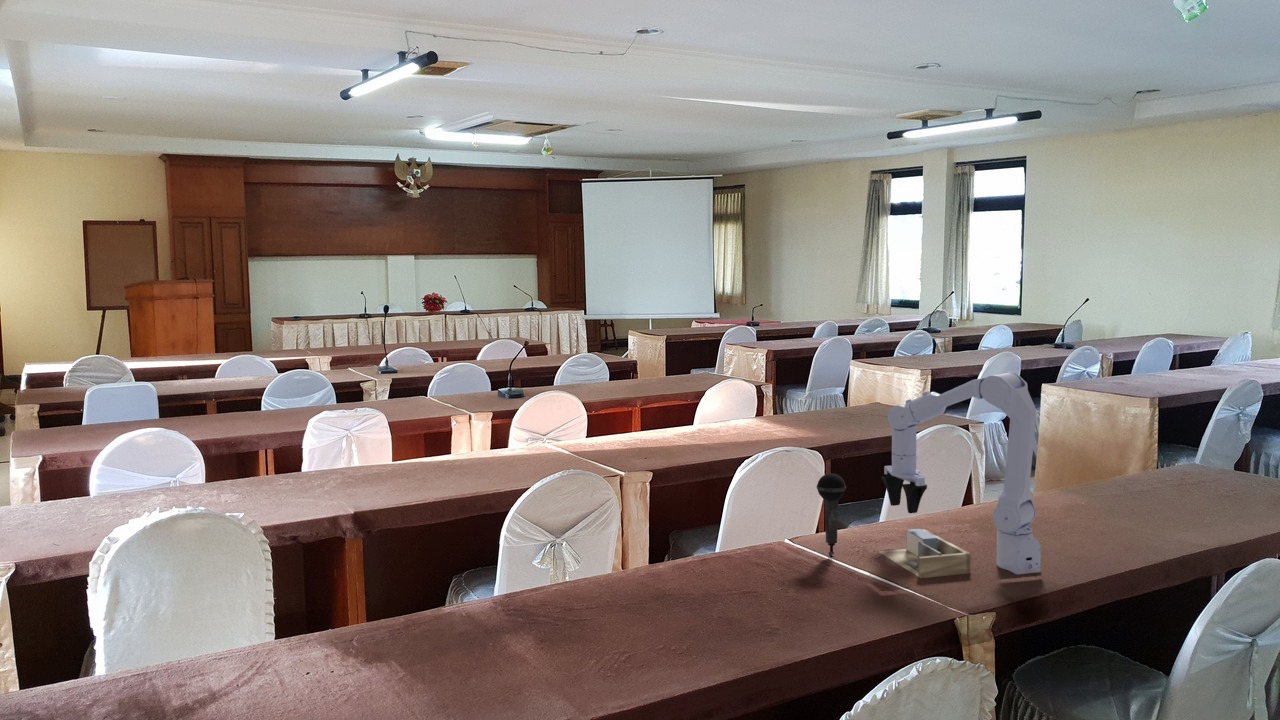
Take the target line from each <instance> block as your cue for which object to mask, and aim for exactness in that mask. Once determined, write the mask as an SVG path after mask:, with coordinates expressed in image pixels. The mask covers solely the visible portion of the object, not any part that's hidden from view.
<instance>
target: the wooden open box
mask: <svg viewBox="0 0 1280 720" xmlns="http://www.w3.org/2000/svg"><path fill="white" fill-rule="evenodd" d="M922 530H923V531H925V532H927V533H929V534H931V535H933V536H935V537H937V550H935V549H933V548H931V547H930V546H928V545H926V544H924V543H922V542H918V557H917V556H915V555H913V554H912V553H910V552H908V551H907V550H906V548H904V549H903V548H902V549H892V550H891V549H890V550H881V551H878V553H879V554H881V555H883V556H885V557H886V558H887V559H889V560H890V561H892V562H893V563H895V564H897V565H898V566H900V567H901V568H903V569H905V570H907V571H908V572H909V573H911V574H913V575H914V576H916V577H918V578H920V579H926V578H935V577H937V578H938V577H946V576H957V575H966V574H971V568H972V566H971V558H972V556H971V555H972V554H971V552H969V551H967V550H965V549H962V547H959V546H958V545H955V544H953V543H951V542H949V541H948V540H945V539H943V538H942V537H941V536H938V535H936V534H934V533H932V532H930V531H929V530H927V529H922Z"/></svg>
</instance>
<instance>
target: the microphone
mask: <svg viewBox="0 0 1280 720" xmlns="http://www.w3.org/2000/svg"><path fill="white" fill-rule="evenodd" d="M816 489H817V491H818V494H819V496H820V497H821V498H822V499H824V525H825V542H826V544H827V545H828V546H829V551H828V556H829V557H831V556H832V557H833V555H834V554H835V552H834V546H835V545H836V544H837V543H838V524H839V522H838V521H839V500H840V499H841V498H843V496H845V495H844V494H845V492H846V489H847V486H846V483H845V481H844V478H842V476H840V475H839V474H837V473H833V472H832V473H831V472H830V473H829V472H828V473H826V474H824V475H822V476H821V477H820V478H819V480H818V481H817V484H816Z"/></svg>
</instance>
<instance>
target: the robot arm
mask: <svg viewBox="0 0 1280 720" xmlns="http://www.w3.org/2000/svg"><path fill="white" fill-rule="evenodd" d="M1028 386H1029V385H1028V383H1027V381H1026V380H1024V379H1023V378H1022V376H1020V375H1019V374H1017V373H1016V372H1014V371H1005V372H1002V373H999V374H993V375H992V374H991V375H989V376H986V377H981V378H977V379H971V380H970V381H967V382H966V383H963V384H961V385H958V386H956V387H954V388H952V389H950V390H947V391H945V392H943V393H938V392H936V391H931V392H930V391H929V390H928V391H924V392H922V393H921V394H922V395H921V396H919V397H917V398H915V399H912V398H911V399H907V400H905V403H904V404H900V405H899V404H896V405H894V406H893V407H892V408H891V409H889V411H888V414H887V421H888V424H889V426H891V465H885V466H884V467H883V469H884V471H883V472H884V473H883V474H884V476H882V477H881V480H882V482H883V484H884V486H885V489H886V491H887V495H888V499H889V504H890V506H891V507H893V506H901V505H900V504H901V501H902V500H901V499H902V490H903V491H904V494H905V499H906V508H907V513H908V514H916V513H918V511H919V507H920V503H921V501H922V498H923V495H924V493H925V492H926V490H927V489H928V485H927V484H926V483H925V482H926V479H925V478H926V477H924V476H922V475H921V470H919V469H917V432H918V431H917V429H918V428H917V427H918V426H919V424H922V423H924V422H926V421H929V420H932V419H934V418H936V417H939V416H942V415H943V414H944V413H945V411H946V408H947V407H950V406H952V405H954V404H957V403H961V402H963V401H966V400H969V399H971V398H976V399H978V400H984V401H986V402H987V403H988V404H991V405H992V406H993V407H996V408H997V409H1000V410H1001V411H1002V412H1003V413H1004V414H1005V415H1006V416H1007V417H1008V418H1009V428H1008V429H1009V430H1008V438H1007V439H1008V440H1007V447H1006V448H1007V451H1006V460H1005V472H1004V482H1003V484H1004V485H1003V488H1002V490H1001V492H1000V495H999V497H998V503H997V505H996V507H995V508H994V511H993V512H992V521H993V523H994V525H995V527H996V528H997V529H996V530H997V531H996V566H998V567H997V568H1000V569H1003V570H1007V571H1008V572H1011V573H1013V574H1015V575H1024V574H1034V573H1035V574H1036V573H1041V564H1042V563H1041V562H1042V552H1041V551H1042V547H1041V546H1042V545H1041V543H1040V541H1039V540H1037V539H1036V538H1035V536H1034V535H1033V530H1032V529H1033V528H1032V525H1031V524H1032V522H1034V520H1035V518H1036V515H1037V509H1036V506H1035V503H1034V493H1033V492H1032V491H1031V490H1030V486H1031V485H1030V484H1031V474H1032V463H1033V455H1034V454H1033V452H1034V445H1035V444H1034V443H1035V434H1036V433H1035V432H1036V423H1037V409H1036V406H1035V404H1034V401H1033V400H1032V397H1031V395H1030V394H1031V393H1030V392H1029V389H1028V388H1029V387H1028ZM905 481H906V482H908V483H904V482H905Z"/></svg>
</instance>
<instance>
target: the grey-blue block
mask: <svg viewBox="0 0 1280 720" xmlns="http://www.w3.org/2000/svg"><path fill="white" fill-rule="evenodd" d="M905 533H906V535H905V536H906V537H905V538H906V540H905V541H906V545H905V547H906V548H905V549H906V550H907V551H908V552H910V553H912V554H913V555H915V556H917V557H918V542H922V543H924V544H926V545H928V546H930V547H931V548H933V549H935V550H937V537H935V536H933V535H931V534H929V533H927V532H925V531H923V529H922V528H911V529H910V528H909V529H906V532H905Z"/></svg>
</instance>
